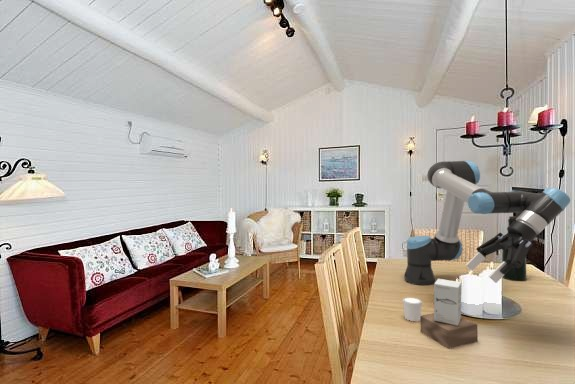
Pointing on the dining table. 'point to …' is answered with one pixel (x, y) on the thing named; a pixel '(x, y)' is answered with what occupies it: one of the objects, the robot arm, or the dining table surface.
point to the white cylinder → (412, 308)
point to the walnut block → (449, 331)
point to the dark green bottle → (517, 273)
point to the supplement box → (447, 301)
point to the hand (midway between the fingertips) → (479, 273)
